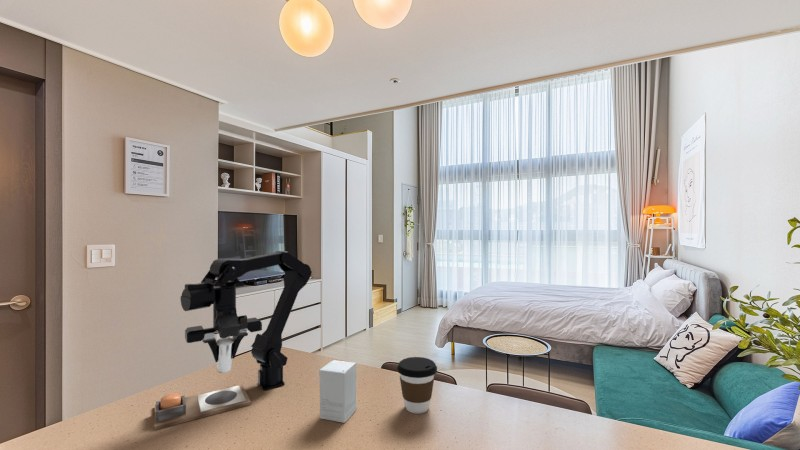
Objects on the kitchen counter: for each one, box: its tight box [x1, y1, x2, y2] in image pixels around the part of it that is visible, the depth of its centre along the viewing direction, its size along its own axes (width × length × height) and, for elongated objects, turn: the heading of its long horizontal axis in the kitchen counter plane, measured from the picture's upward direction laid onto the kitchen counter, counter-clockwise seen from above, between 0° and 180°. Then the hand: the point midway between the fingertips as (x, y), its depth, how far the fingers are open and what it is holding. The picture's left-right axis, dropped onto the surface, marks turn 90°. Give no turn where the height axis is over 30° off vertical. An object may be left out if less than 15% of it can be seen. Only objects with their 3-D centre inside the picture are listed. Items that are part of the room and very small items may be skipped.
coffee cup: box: [396, 356, 438, 414], centre depth 96 cm, size 11×11×12 cm
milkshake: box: [216, 336, 235, 374], centre depth 99 cm, size 4×5×10 cm
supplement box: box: [318, 359, 358, 424], centre depth 93 cm, size 7×7×13 cm
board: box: [153, 384, 252, 431], centre depth 97 cm, size 22×13×3 cm, turn 124°
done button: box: [160, 392, 182, 410], centre depth 92 cm, size 4×4×3 cm
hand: (224, 360), depth 99 cm, fingers closed on milkshake, 4 cm apart
